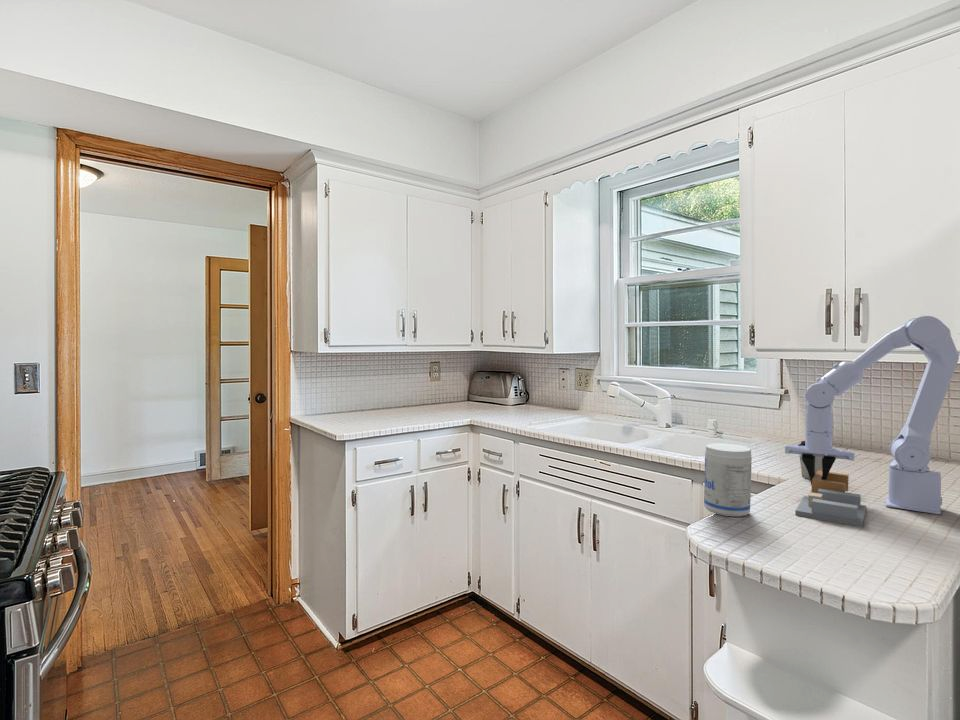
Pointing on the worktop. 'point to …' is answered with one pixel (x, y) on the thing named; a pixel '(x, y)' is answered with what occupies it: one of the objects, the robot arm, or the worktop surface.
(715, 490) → the supplement tub
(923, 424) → the robot arm
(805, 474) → the coffee cup
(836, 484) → the tan c-shaped bracket
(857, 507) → the display stand
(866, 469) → the worktop surface
